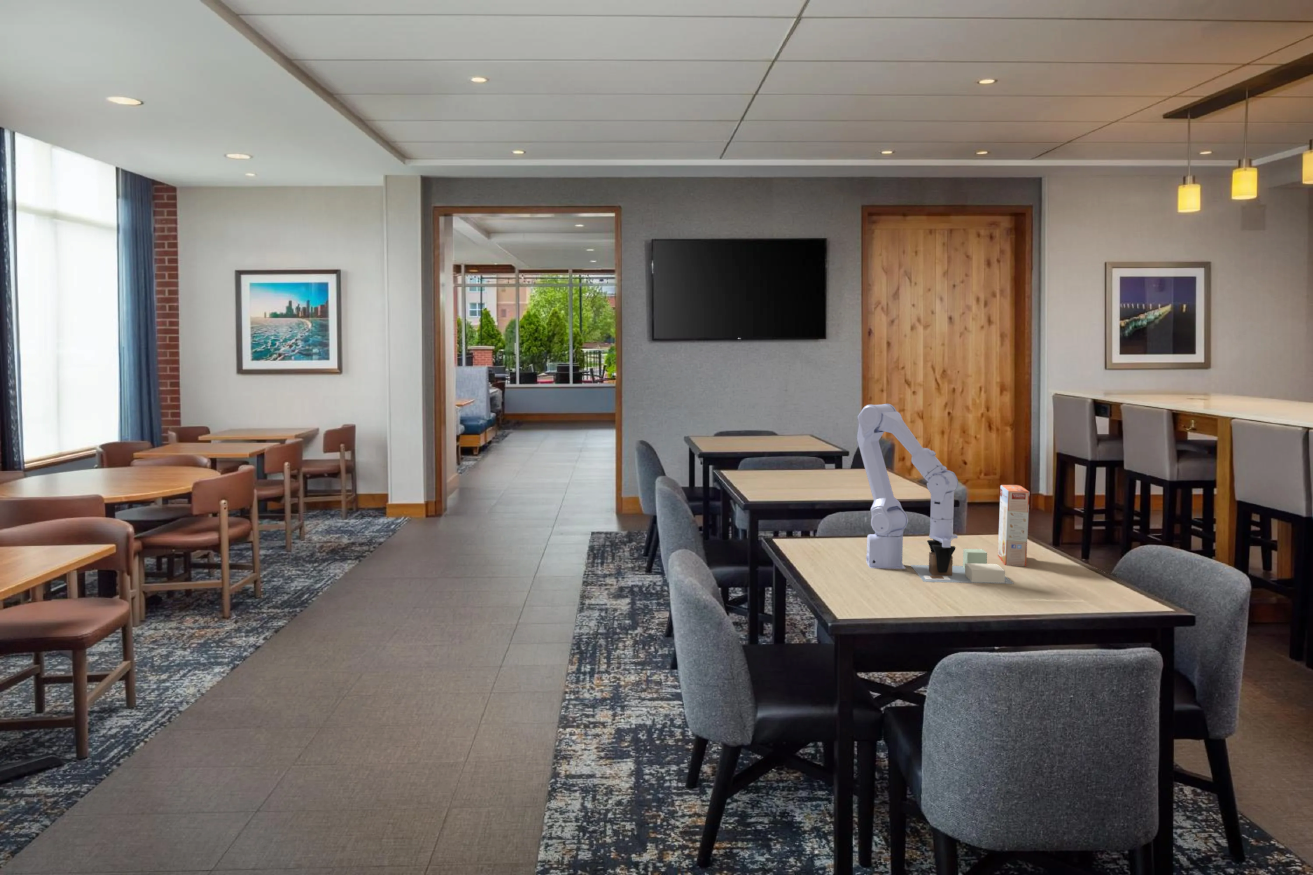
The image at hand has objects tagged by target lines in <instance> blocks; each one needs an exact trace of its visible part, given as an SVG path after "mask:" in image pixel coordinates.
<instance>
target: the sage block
mask: <svg viewBox="0 0 1313 875" xmlns="http://www.w3.org/2000/svg"><path fill="white" fill-rule="evenodd" d="M962 550H963V553H962V554H963V556H962V557H963V558H962V566H963V568H964V569H965V563H974V564H988V552H987V551H985V550H984V548H963V549H962Z"/></svg>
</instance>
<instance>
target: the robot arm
mask: <svg viewBox="0 0 1313 875" xmlns="http://www.w3.org/2000/svg"><path fill="white" fill-rule="evenodd" d="M857 420H858V429H857V435H856V439H857V443H858V444H857V445H858V447H859V451H860V455H861V459H862V463H863V466H864V469H865V474H866V477H867V480H868V484H869V488H870V492H871V496H872V498H873V502H872V505H871V507H870V514H871V519H870V526H871V528H872V530H873V532H874V534H873V533H872V534H871V533H870V534H867V537H866V558H865V561H866V564H867V566H868V567H869V569H894V570H896V569H897V570H900V569H901V570H906V566H905V565H904V564H903V556H904V555H903V553H904V552H903V548H904V547H903V546H904V545H903V544H904V538H903V537H904V530H905V529H906V527H907V526H908V523H909V518H908V514H907V513H906V512H905V510H904V509H903V507H902V505H901V502H900V501H899V500H898V499H897V498H896V497H895V496H894V492H893V489H892V484H891V481H890V478H889V474H888V471H887V470H888V469H887V468H886V467H887V466H886V463H885V459H884V456H883V452H882V448H881V445H880V439H881V438H882V437H883V435H884V433H885V432H886V433H890V434H892V435H893V436H894V437H895V438H896V439H897V440H898V442H900V444H901V445H902V447H904V448H905V450H907V451H908V453H909V454H910V455H911V458H910V459H911V464H913V466H914V467H915V468H916V470H917V471H918V472H919V473H920V475H921V476H922V477H923V479H924V480H925V481H926V487H927V490H928V492H929V494H930V518H929V519H930V520H929V521H930V522H929V534H928V538H930V539H928V540H926V541H927V544H928V547H929V548H930V549H929V550H930V552H935V555H936V561H937V569H938V572H941V573H947V570H948V567H949V562H950V559H951V556H953V554H954V552H955V550H956V548H957V547H956V545H952V540H954V539H958V535H957V534H954V511H955V510H954V505H955V500H954V499H955V491H956V489H957V488H958V486H959V481H958V477H957V475H956V473H955V472H953V471H951V470H948V468H947V467H946V466H945V465H943V464H942V463H941V461H940V460H939V459H938V458H937V457H936V454H937V453H936V451H935V450H931V448H928V447H922V446H923V445H921V443H920V442H919V440H918V439H917V438H916V436H915V435H914V434H913V433H912V431H911V430H910V428H909V426H908V425H907V424H906V422H905V421H904V420H903V417H902V415H901V413H900V412H899V411H897V410H896V407H895V406H894V405H892V404H890V403H882V404H866V405H865V406H864V407H863V408H862V409H861V410H860V412H859V413H858V415H857Z"/></svg>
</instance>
